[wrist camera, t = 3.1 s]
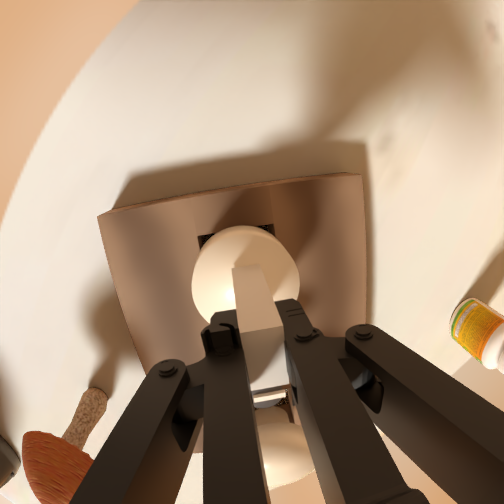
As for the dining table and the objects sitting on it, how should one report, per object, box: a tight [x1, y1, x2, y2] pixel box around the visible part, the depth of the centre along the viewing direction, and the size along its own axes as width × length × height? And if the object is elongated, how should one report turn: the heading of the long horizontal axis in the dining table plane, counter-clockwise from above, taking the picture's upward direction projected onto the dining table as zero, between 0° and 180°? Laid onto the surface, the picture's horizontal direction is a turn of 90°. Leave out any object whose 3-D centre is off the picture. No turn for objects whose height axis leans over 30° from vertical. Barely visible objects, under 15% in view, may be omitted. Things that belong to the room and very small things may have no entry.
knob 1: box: [192, 225, 300, 323], centre depth 20 cm, size 6×6×6 cm
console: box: [97, 173, 367, 453], centre depth 24 cm, size 18×24×3 cm
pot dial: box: [251, 385, 286, 408], centre depth 20 cm, size 2×2×5 cm
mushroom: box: [22, 387, 108, 504], centre depth 19 cm, size 8×8×15 cm
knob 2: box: [255, 406, 315, 487], centre depth 21 cm, size 6×6×6 cm
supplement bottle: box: [449, 298, 504, 374], centre depth 24 cm, size 5×5×10 cm
